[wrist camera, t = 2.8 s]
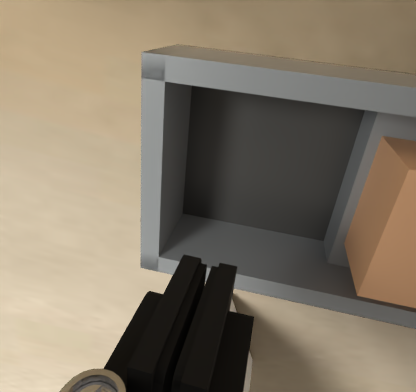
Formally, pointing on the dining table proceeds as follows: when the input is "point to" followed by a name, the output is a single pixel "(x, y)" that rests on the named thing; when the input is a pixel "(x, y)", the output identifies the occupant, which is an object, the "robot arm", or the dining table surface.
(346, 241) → the block
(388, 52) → the dining table surface
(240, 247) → the gray cradle tray
